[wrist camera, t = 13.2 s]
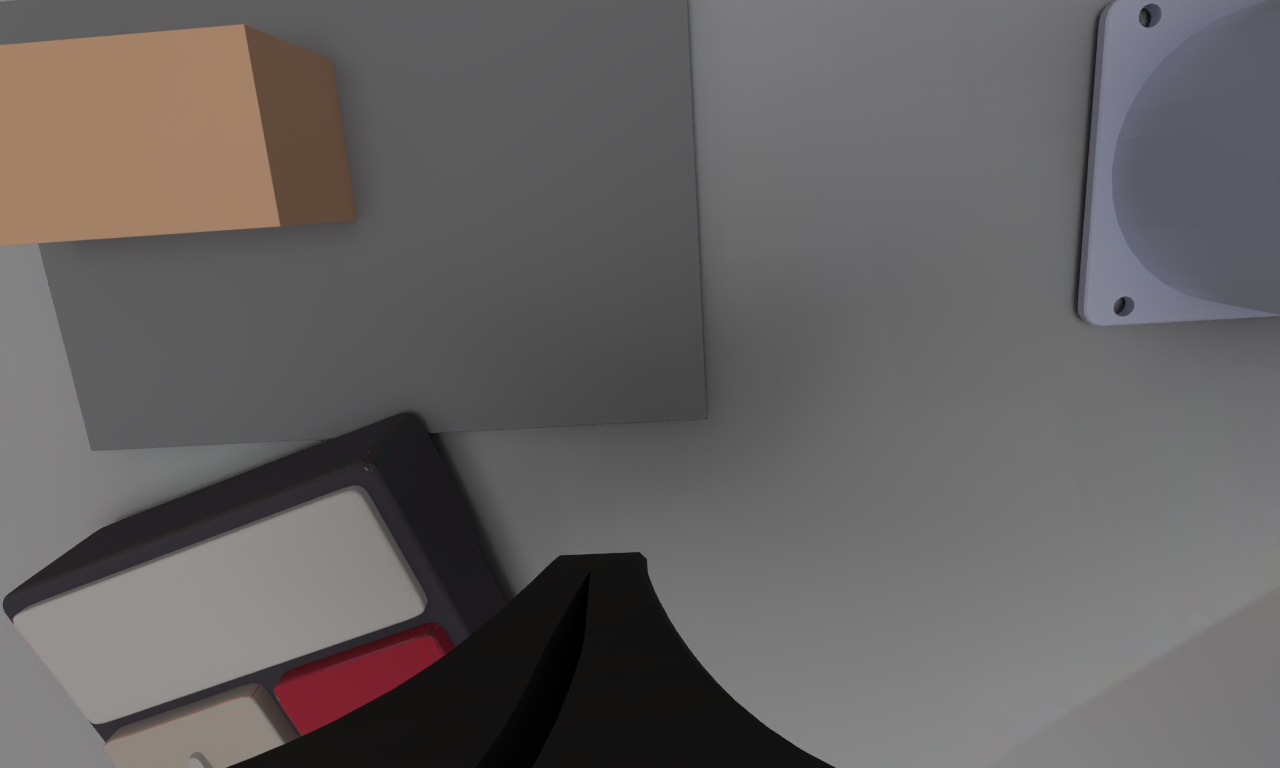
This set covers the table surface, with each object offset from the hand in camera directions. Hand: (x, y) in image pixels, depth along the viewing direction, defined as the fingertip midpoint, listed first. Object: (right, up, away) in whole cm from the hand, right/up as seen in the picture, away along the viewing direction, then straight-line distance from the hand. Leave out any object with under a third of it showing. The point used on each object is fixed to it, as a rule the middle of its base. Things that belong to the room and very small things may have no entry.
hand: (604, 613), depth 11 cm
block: (-7, +9, +6) cm, 13 cm away
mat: (-7, +8, +9) cm, 14 cm away
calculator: (-8, -6, +12) cm, 16 cm away
